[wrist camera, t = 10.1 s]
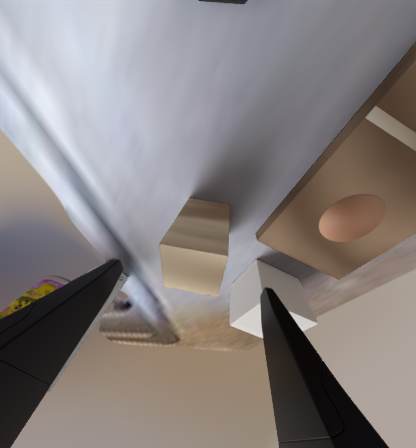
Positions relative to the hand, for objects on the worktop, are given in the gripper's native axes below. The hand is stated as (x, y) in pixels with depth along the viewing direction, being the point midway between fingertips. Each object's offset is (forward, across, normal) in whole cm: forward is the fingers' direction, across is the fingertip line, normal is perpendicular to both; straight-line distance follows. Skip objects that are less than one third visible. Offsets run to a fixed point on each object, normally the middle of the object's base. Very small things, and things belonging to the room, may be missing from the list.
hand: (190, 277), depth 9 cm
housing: (+7, -8, +8) cm, 14 cm away
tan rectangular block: (+7, 0, 0) cm, 7 cm away
